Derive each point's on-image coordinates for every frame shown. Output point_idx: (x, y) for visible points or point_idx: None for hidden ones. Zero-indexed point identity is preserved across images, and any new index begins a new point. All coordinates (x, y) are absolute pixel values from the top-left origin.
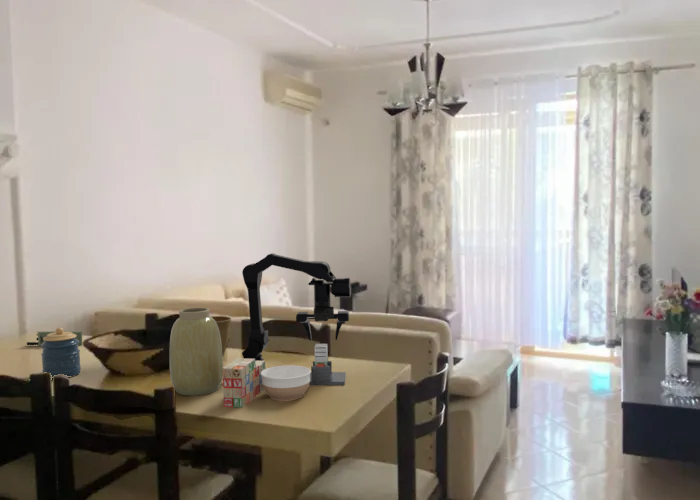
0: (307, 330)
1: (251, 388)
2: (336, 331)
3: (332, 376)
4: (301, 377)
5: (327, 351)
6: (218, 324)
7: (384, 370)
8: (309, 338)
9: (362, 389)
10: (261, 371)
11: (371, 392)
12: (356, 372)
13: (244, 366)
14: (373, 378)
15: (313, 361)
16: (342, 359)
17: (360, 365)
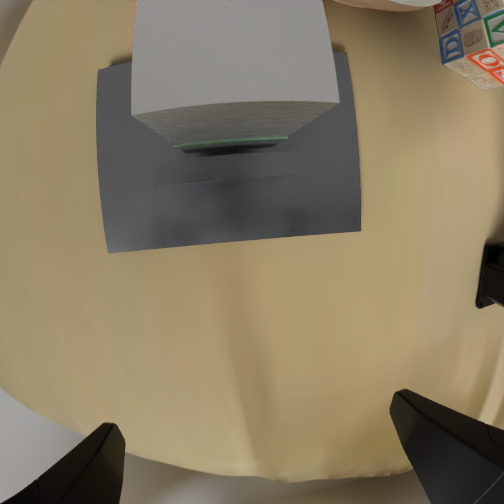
0: (495, 437)
1: None
2: (61, 489)
3: (166, 153)
4: None
5: (161, 135)
6: None
7: (6, 328)
8: (420, 397)
9: (43, 43)
10: (482, 7)
11: (24, 26)
12: (82, 304)
13: None
14: (6, 207)
15: (305, 163)
16: (201, 464)
17: (105, 403)
